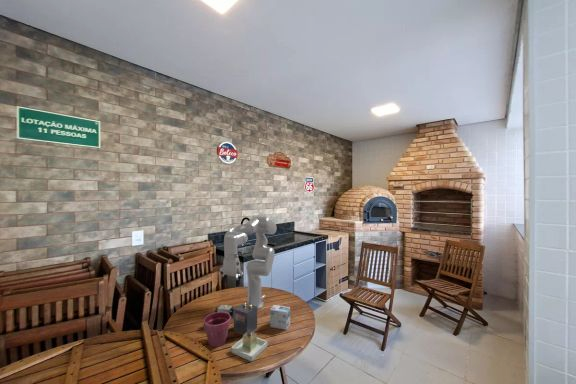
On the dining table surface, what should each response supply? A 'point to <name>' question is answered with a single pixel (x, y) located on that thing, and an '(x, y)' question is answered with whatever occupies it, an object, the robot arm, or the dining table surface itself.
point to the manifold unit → (245, 318)
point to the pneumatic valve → (226, 309)
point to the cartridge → (249, 341)
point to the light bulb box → (280, 317)
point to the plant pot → (217, 328)
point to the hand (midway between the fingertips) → (231, 284)
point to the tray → (248, 355)
